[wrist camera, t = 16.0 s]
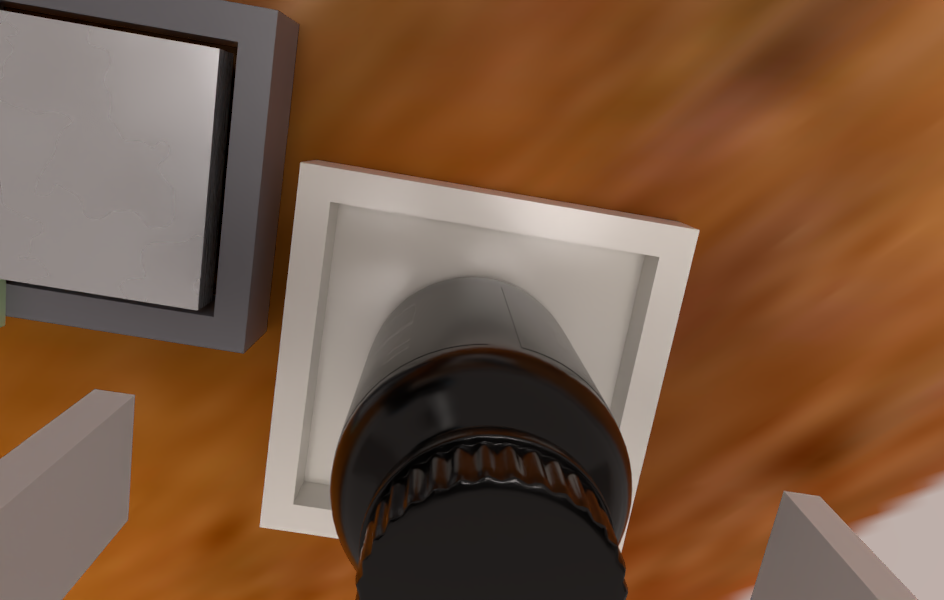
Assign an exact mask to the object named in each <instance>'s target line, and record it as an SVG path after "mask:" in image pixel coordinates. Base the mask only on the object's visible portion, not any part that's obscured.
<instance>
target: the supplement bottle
mask: <svg viewBox="0 0 944 600" xmlns="http://www.w3.org/2000/svg"><path fill="white" fill-rule="evenodd" d="M631 500H632V472H631V466H630V459H629V455H628V452H627V448H626V445H625V442H624V440H623V437H622V434H621V432H620V429H619V427H618V425H617V423H616V421H615V419H614V417H613V415H612V413H611V411H610V409H609V408H608V406H607V404H606V403H605V401H604V399H603V397H602V396H601V394H600V392H599V391H598V389H597V387H596V385H595V384H594V382H593V380H592V379H591V377H590V375H589V373H588V372H587V370H586V368H585V367H584V365H583V363H582V362H581V360H580V358H579V356H578V355H577V353H576V351H575V350H574V348H573V346H572V344H571V343H570V341H569V339H568V338H567V336H566V334H565V333H564V331H563V330H562V328H561V327H560V325H559V324H558V322H557V321H556V319H555V318H554V317H553V316H552V314H551V313H550V312H549V311H548V310H547V309H546V308H545V307H544V306H543V305H542V304H541V303H540V302H539V301H537V300H536V299H535V298H534V297H532V296H531V295H529V294H528V293H526V292H525V291H523V290H521V289H519V288H517V287H515V286H513V285H511V284H508V283H505V282H502V281H499V280H495V279H489V278H482V277H460V278H453V279H448V280H444V281H440V282H437V283H434V284H432V285H429V286H427V287H425V288H423V289H421V290H419V291H417V292H416V293H414V294H412V295H411V296H409V297H408V298H407V299H406V300H404V301H403V302H402V303H401V304H400V305H399V306H398V307H397V308H395V309H394V310H393V312H392V313H391V314H390V315H389V316H388V318H387V319H386V320H385V322H384V323H383V325H382V326H381V328H380V330H379V332H378V333H377V335H376V337H375V340H374V342H373V344H372V347H371V349H370V352H369V354H368V357H367V360H366V363H365V366H364V368H363V371H362V374H361V377H360V380H359V383H358V386H357V389H356V392H355V394H354V397H353V400H352V403H351V406H350V409H349V412H348V415H347V417H346V420H345V423H344V426H343V429H342V432H341V435H340V438H339V441H338V444H337V448H336V451H335V455H334V460H333V466H332V471H331V479H330V504H331V510H332V517H333V522H334V525H335V529H336V533H337V535H338V538H339V540H340V543H341V545H342V547H343V549H344V551H345V553H346V555H347V557H348V559H349V561H350V562H351V564H352V565H353V567H354V568H355V570H356V571H357V573H356V587H357V594H356V600H625V599H626V597H627V594H628V588H627V584H626V581H625V579H624V577H625V570H626V567H625V562H624V559H623V557H622V554H621V552H620V549H619V547H618V546H619V544H620V542H621V539H622V537H623V534H624V532H625V528H626V525H627V521H628V518H629V513H630V507H631Z"/></svg>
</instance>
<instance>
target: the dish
mask: <svg viewBox="0 0 944 600" xmlns="http://www.w3.org/2000/svg"><path fill="white" fill-rule="evenodd" d="M698 234H699V230H698V229H696V228H693V227H691V226H688V225H686V224H683V223H681V222H678V221H673V220H667V219H661V218H655V217H649V216H644V215H638V214H632V213H626V212H620V211H614V210H608V209H603V208H597V207H591V206H585V205H579V204H573V203H567V202H561V201H556V200H550V199H544V198H538V197H532V196H526V195H520V194H515V193H509V192H503V191H497V190H491V189H485V188H479V187H474V186H468V185H462V184H456V183H450V182H444V181H438V180H432V179H427V178H421V177H415V176H409V175H403V174H397V173H391V172H386V171H380V170H374V169H368V168H362V167H356V166H350V165H345V164H339V163H333V162H327V161H321V160H311V161H305V162H300V171H299V179H298V188H297V197H296V206H295V215H294V224H293V233H292V242H291V251H290V260H289V269H288V278H287V287H286V295H285V304H284V313H283V322H282V331H281V340H280V349H279V358H278V367H277V376H276V385H275V394H274V403H273V411H272V420H271V429H270V438H269V447H268V456H267V465H266V474H265V483H264V492H263V501H262V510H261V519H260V527H263V528H270V529H277V530H283V531H290V532H297V533H304V534H310V535H317V536H324V537H331V538H337V539H339V538H338V535H337V533H336V529H335V525H334V522H333V517H332V510H331V504H330V479H331V471H332V466H333V460H334V455H335V451H336V448H337V444H338V441H339V438H340V435H341V432H342V429H343V426H344V423H345V420H346V417H347V415H348V412H349V409H350V406H351V403H352V400H353V397H354V394H355V392H356V389H357V386H358V383H359V380H360V377H361V374H362V371H363V368H364V366H365V363H366V360H367V357H368V354H369V352H370V349H371V347H372V344H373V342H374V340H375V337H376V335H377V333H378V332H379V330H380V328H381V326H382V325H383V323H384V322H385V320H386V319H387V318H388V316H389V315H390V314H391V313H392V312H393V310H394V309H395V308H397V307H398V306H399V305H400V304H401V303H402V302H403V301H404V300H406V299H407V298H408V297H409V296H411V295H412V294H414V293H416V292H417V291H419V290H421V289H423V288H425V287H427V286H429V285H432V284H434V283H437V282H440V281H444V280H448V279H453V278H460V277H482V278H489V279H495V280H499V281H502V282H505V283H508V284H511V285H513V286H515V287H517V288H519V289H521V290H523V291H525V292H526V293H528V294H529V295H531V296H532V297H534V298H535V299H536V300H537V301H539V302H540V303H541V304H542V305H543V306H544V307H545V308H546V309H547V310H548V311H549V312H550V313H551V314H552V316H553V317H554V318H555V319H556V321H557V322H558V324H559V325H560V327H561V328H562V330H563V331H564V333H565V334H566V336H567V338H568V339H569V341H570V343H571V344H572V346H573V348H574V350H575V351H576V353H577V355H578V356H579V358H580V360H581V362H582V363H583V365H584V367H585V368H586V370H587V372H588V373H589V375H590V377H591V379H592V380H593V382H594V384H595V385H596V387H597V389H598V391H599V392H600V394H601V396H602V397H603V399H604V401H605V403H606V404H607V406H608V408H609V409H610V411H611V413H612V415H613V417H614V419H615V421H616V423H617V425H618V427H619V429H620V432H621V434H622V437H623V440H624V442H625V445H626V448H627V452H628V455H629V459H630V466H631V472H632V500H631V507H630V513H629V518H630V514H631V510H632V506H633V502H634V498H635V494H636V490H637V485H638V481H639V477H640V473H641V469H642V465H643V461H644V457H645V453H646V448H647V444H648V440H649V436H650V432H651V428H652V424H653V420H654V415H655V411H656V407H657V403H658V399H659V395H660V391H661V387H662V383H663V378H664V374H665V370H666V366H667V362H668V358H669V354H670V350H671V345H672V341H673V337H674V333H675V329H676V325H677V321H678V317H679V312H680V308H681V304H682V300H683V296H684V292H685V288H686V284H687V280H688V275H689V271H690V267H691V263H692V259H693V255H694V251H695V247H696V242H697V238H698ZM629 518H628V521H627V525H626V528H625V532H624V534H623V537H622V539H621V542H620V544H619V546H618V547H619V549H620V552H621V551H622V547H623V543H624V539H625V535H626V531H627V527H628V523H629Z"/></svg>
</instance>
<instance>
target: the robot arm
mask: <svg viewBox="0 0 944 600" xmlns="http://www.w3.org/2000/svg"><path fill="white" fill-rule="evenodd" d="M134 403H135V395H132V394H125V393H118V392H112V391H105V390H98V389H94V390H93V391H92V392H90V393H89V394H87V395H86V396H85V397H83V398H82V399H81V400H79V401H78V402H77V403H75V404H74V405H73V406H71V407H70V408H69V409H67V410H66V411H65V412H63V413H62V414H60V415H59V416H58V417H56V418H55V419H54V420H52V421H51V422H50V423H48V424H47V425H46V426H44V427H43V428H42V429H40V430H39V431H37V432H36V433H35V434H33V435H32V436H31V437H29V438H28V439H27V440H25V441H24V442H23V443H21V444H20V445H19V446H17V447H16V448H15V449H13V450H12V451H10V452H9V453H8V454H6V455H5V456H4V457H2V458H1V459H0V600H62V599H63V598H64V597H65V595H66V594H67V593H68V592H69V591H70V589H71V588H72V587H73V586H74V585H75V583H76V582H77V581H78V580H79V579H80V577H81V576H82V575H83V574H84V572H85V571H86V570H87V569H88V568H89V566H90V565H91V564H92V563H93V562H94V560H95V559H96V558H97V557H98V556H99V554H100V553H101V552H102V551H103V550H104V548H105V547H106V546H107V545H108V543H109V542H110V541H111V540H112V539H113V537H114V536H115V535H116V534H117V533H118V531H119V530H120V529H121V528H122V527H123V525H124V524H125V523H126V522H127V521H128V512H129V494H130V476H131V457H132V439H133V421H134ZM750 600H918V599H917V598H916V597H915V596H914V595H913V594H912V593H911V592H910V591H909V589H907V587H906V586H905V585H904V584H903V583H902V582H901V581H900V580H899V579H898V578H897V577H896V576H895V575H894V574H893V573H892V572H891V571H890V570H889V569H888V567H886V565H885V564H884V563H882V561H881V560H880V559H879V558H878V557H877V556H876V555H875V554H874V553H873V552H872V551H871V550H870V549H869V548H868V546H867V545H866V544H865V543H864V542H863V541H862V540H861V539H860V538H859V537H858V536H857V535H856V534H855V533H854V532H853V531H852V530H851V529H850V528H849V527H848V525H847V524H846V523H845V522H844V521H843V520H842V519H841V518H840V517H839V516H838V515H837V514H836V513H835V512H834V511H833V510H832V509H831V508H830V507H829V506H828V505H827V503H826V502H825V501H824V500H823V499H822V498H821V497H820V496H814V495H807V494H801V493H794V492H787V491H784V492H783V496H782V499H781V502H780V505H779V509H778V512H777V515H776V518H775V522H774V525H773V528H772V531H771V535H770V538H769V541H768V544H767V548H766V551H765V554H764V557H763V561H762V564H761V567H760V570H759V574H758V577H757V580H756V583H755V586H754V590H753V593H752V596H751V599H750Z"/></svg>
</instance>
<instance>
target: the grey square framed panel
mask: <svg viewBox="0 0 944 600" xmlns="http://www.w3.org/2000/svg"><path fill="white" fill-rule="evenodd" d="M4 6H5V7H10V8H16V9H22V10H27V11H33V12H39V13H44V14H50V15H56V16H61V17H67V18H73V19H78V20H84V21H90V22H95V23H101V24H107V25H112V26H118V27H124V28H129V29H135V30H141V31H146V32H152V33H158V34H163V35H169V36H175V37H180V38H186V39H192V40H197V41H203V42H209V43H214V44H220V45H226V46H231V47H237V48H238V51H237V62H236V73H235V84H234V96H233V107H232V118H231V129H230V140H229V152H228V163H227V174H226V185H225V197H224V208H223V219H222V230H221V241H220V253H219V264H218V275H217V286H216V295H215V294H213V296H212V302H210V303H209V304H207V305H205V306H204V307H202V308H201V309H199V310H198V311H197V310H191V309H185V308H178V307H172V306H166V305H160V304H153V303H147V302H141V301H135V300H129V299H122V298H116V297H110V296H104V295H97V294H91V293H85V292H79V291H72V290H66V289H60V288H54V287H47V286H41V285H35V284H29V283H22V282H16V281H10V280H4V279H0V327H2V326H5V316H10V317H16V318H22V319H28V320H35V321H41V322H47V323H54V324H60V325H66V326H73V327H79V328H85V329H92V330H98V331H104V332H111V333H117V334H123V335H130V336H136V337H142V338H149V339H155V340H161V341H168V342H174V343H180V344H187V345H193V346H199V347H206V348H212V349H218V350H225V351H231V352H237V353H245V352H246V351H247V350H248V349H249V348H250V347H251V346H252V345H253V344H254V343H255V342H256V341H257V340H258V339H259V338H260V337H261V336H262V335H263V334H264V333H265V332H266V330H267V321H268V312H269V302H270V293H271V284H272V274H273V265H274V256H275V246H276V237H277V228H278V218H279V209H280V200H281V190H282V181H283V172H284V162H285V153H286V144H287V134H288V125H289V116H290V106H291V97H292V88H293V78H294V69H295V60H296V50H297V41H298V31H299V24H298V23H296V22H295V21H293V20H292V19H290V18H289V17H287V16H286V15H284V14H283V13H281V12H280V11H278V10H273V9H268V8H262V7H257V6H251V5H245V4H240V3H234V2H229V1H223V0H0V10H3V11H4Z"/></svg>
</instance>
